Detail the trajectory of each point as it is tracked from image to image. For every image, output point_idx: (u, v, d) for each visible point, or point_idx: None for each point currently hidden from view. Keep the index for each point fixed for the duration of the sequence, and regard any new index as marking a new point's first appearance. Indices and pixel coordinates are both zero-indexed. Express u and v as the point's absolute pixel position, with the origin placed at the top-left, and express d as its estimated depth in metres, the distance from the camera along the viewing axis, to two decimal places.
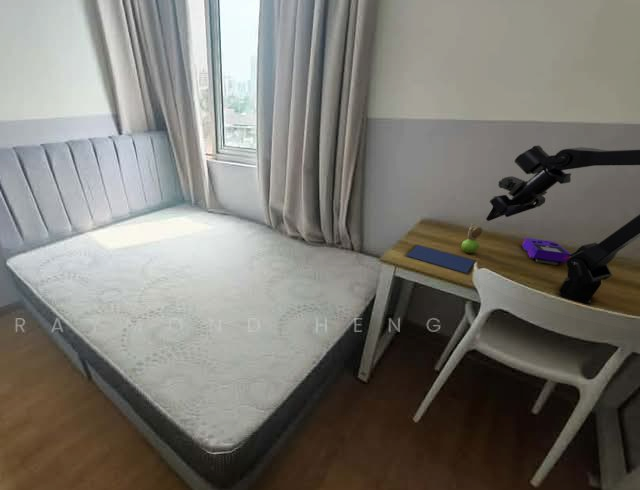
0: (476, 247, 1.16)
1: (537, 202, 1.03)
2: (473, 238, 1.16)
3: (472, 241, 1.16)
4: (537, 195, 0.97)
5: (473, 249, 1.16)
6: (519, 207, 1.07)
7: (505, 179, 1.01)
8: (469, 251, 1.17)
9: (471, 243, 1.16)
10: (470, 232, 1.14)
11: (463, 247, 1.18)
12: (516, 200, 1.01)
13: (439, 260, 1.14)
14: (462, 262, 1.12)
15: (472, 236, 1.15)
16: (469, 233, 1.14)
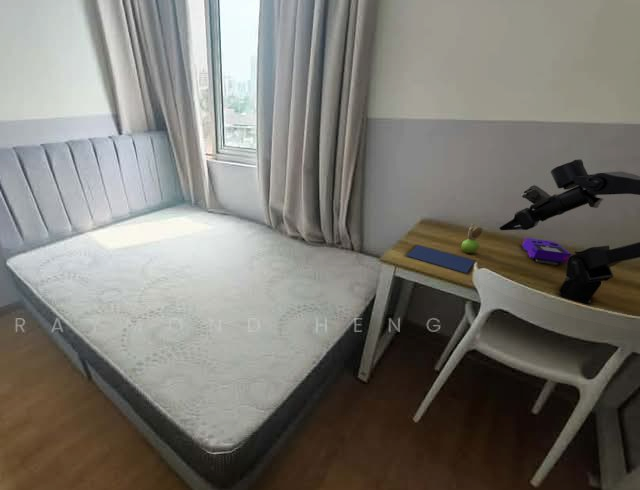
0: (476, 247, 1.16)
1: None
2: (473, 238, 1.16)
3: (472, 241, 1.16)
4: (561, 213, 0.93)
5: (473, 249, 1.16)
6: None
7: (534, 191, 0.94)
8: (469, 251, 1.17)
9: (471, 243, 1.16)
10: (470, 232, 1.14)
11: (463, 247, 1.18)
12: (538, 214, 0.96)
13: (439, 260, 1.14)
14: (462, 262, 1.12)
15: (472, 236, 1.15)
16: (469, 233, 1.14)
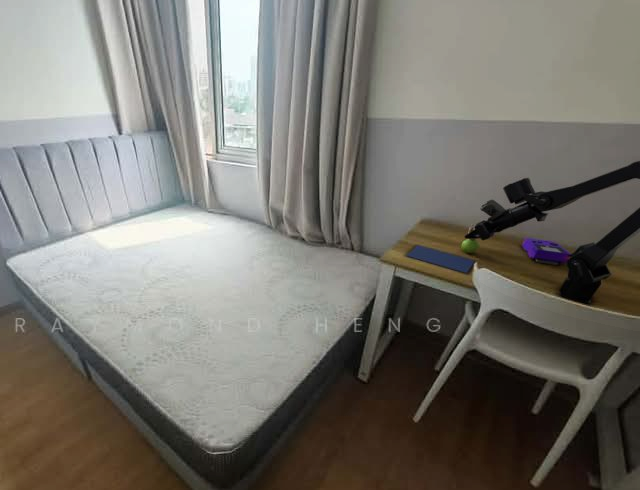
0: (476, 247, 1.16)
1: None
2: None
3: (472, 241, 1.16)
4: None
5: (473, 249, 1.16)
6: None
7: (490, 205, 1.05)
8: (469, 251, 1.17)
9: (471, 243, 1.16)
10: None
11: (463, 247, 1.18)
12: (494, 226, 1.07)
13: (439, 260, 1.14)
14: (462, 262, 1.12)
15: None
16: None
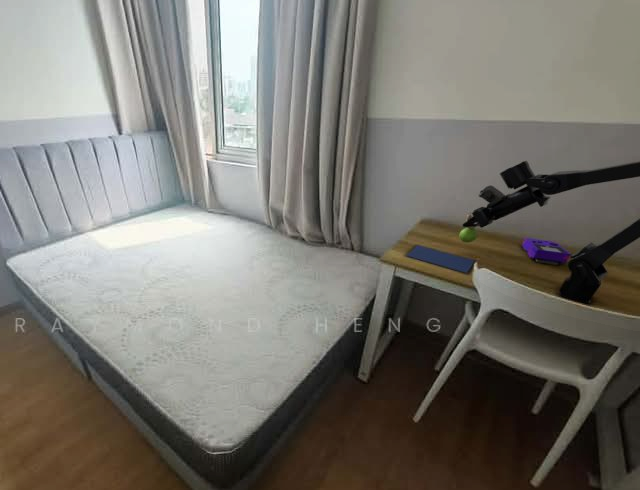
0: (475, 236, 1.11)
1: None
2: None
3: (470, 230, 1.11)
4: None
5: (471, 238, 1.11)
6: None
7: (488, 191, 1.00)
8: (467, 240, 1.12)
9: (470, 231, 1.11)
10: None
11: (461, 236, 1.13)
12: (493, 213, 1.02)
13: (439, 260, 1.14)
14: (462, 262, 1.12)
15: None
16: None
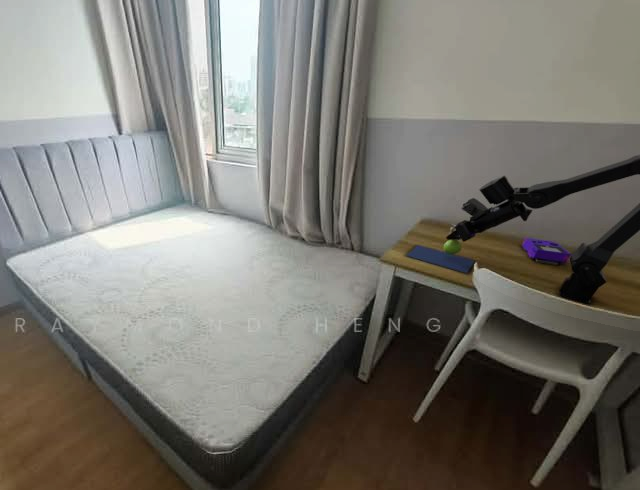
0: (458, 248, 1.09)
1: None
2: None
3: (454, 242, 1.09)
4: (496, 225, 0.97)
5: (455, 251, 1.10)
6: None
7: (471, 204, 0.98)
8: (451, 253, 1.11)
9: (454, 244, 1.09)
10: None
11: (445, 249, 1.12)
12: (476, 226, 1.01)
13: (439, 260, 1.14)
14: (462, 262, 1.12)
15: None
16: None
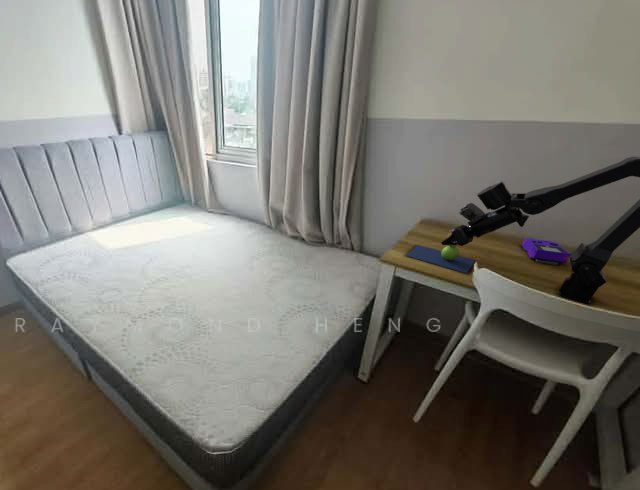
0: (456, 254, 1.10)
1: None
2: (453, 245, 1.10)
3: (452, 248, 1.11)
4: (493, 230, 0.98)
5: (453, 256, 1.11)
6: None
7: (469, 209, 0.99)
8: (449, 258, 1.12)
9: (451, 250, 1.11)
10: None
11: (443, 254, 1.13)
12: (473, 231, 1.02)
13: (439, 260, 1.14)
14: (462, 262, 1.12)
15: None
16: None
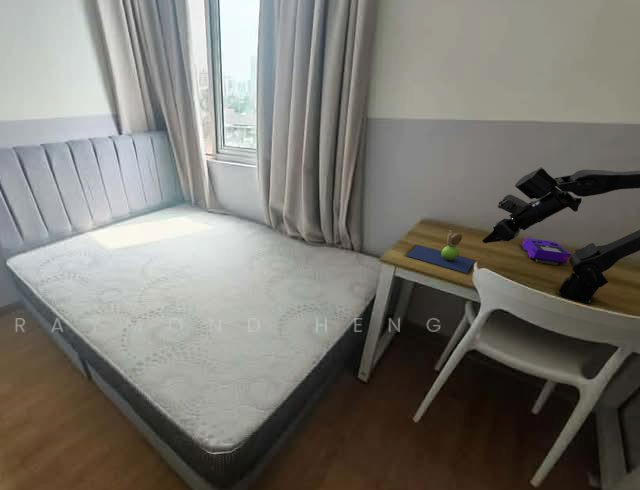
0: (456, 254, 1.10)
1: None
2: (453, 245, 1.10)
3: (452, 248, 1.11)
4: (542, 220, 0.89)
5: (453, 256, 1.11)
6: None
7: (508, 201, 0.91)
8: (449, 258, 1.12)
9: (451, 250, 1.10)
10: (449, 239, 1.09)
11: (443, 254, 1.13)
12: (518, 224, 0.93)
13: (439, 260, 1.14)
14: (462, 262, 1.12)
15: (451, 243, 1.10)
16: (448, 240, 1.09)
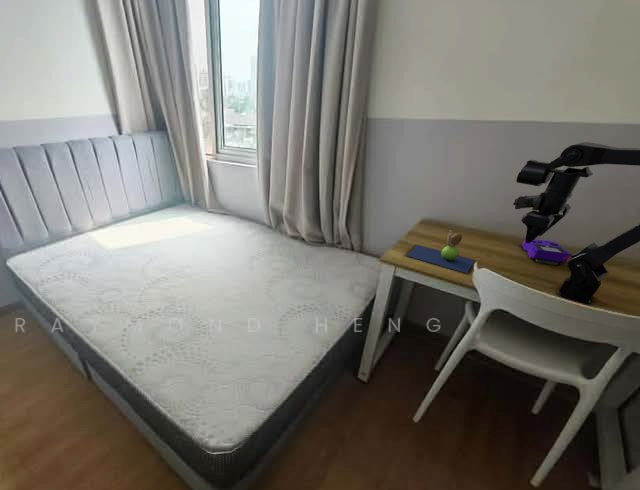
0: (456, 254, 1.10)
1: (565, 209, 0.94)
2: (453, 245, 1.10)
3: (452, 248, 1.11)
4: (567, 198, 0.88)
5: (453, 256, 1.11)
6: None
7: (520, 198, 0.94)
8: (449, 258, 1.12)
9: (451, 250, 1.10)
10: (449, 239, 1.09)
11: (443, 254, 1.13)
12: (547, 211, 0.91)
13: (439, 260, 1.14)
14: (462, 262, 1.12)
15: (451, 243, 1.10)
16: (448, 240, 1.09)
